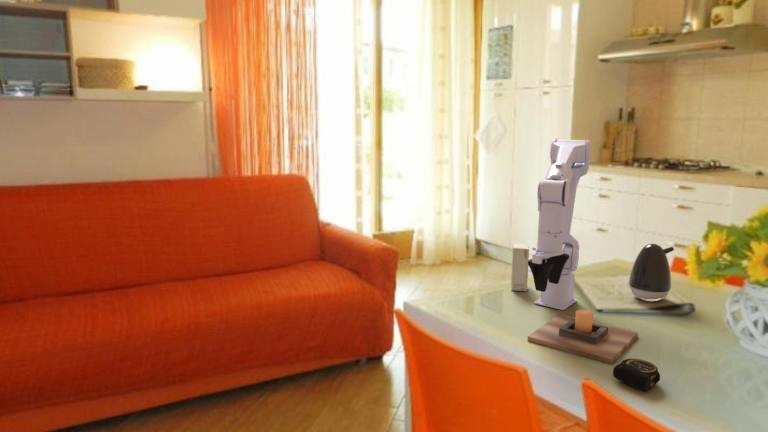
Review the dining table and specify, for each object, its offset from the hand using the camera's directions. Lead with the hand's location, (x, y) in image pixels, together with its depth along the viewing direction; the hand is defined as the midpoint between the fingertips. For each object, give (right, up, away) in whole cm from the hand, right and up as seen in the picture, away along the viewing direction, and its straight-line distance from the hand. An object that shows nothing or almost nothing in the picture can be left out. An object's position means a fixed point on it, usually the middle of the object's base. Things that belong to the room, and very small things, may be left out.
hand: (547, 286), depth 134 cm
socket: (+5, -10, -9) cm, 15 cm away
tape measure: (+8, -15, -30) cm, 34 cm away
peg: (+5, -9, -9) cm, 14 cm away
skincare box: (-1, -4, +26) cm, 26 cm away
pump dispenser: (+32, -6, +18) cm, 37 cm away
